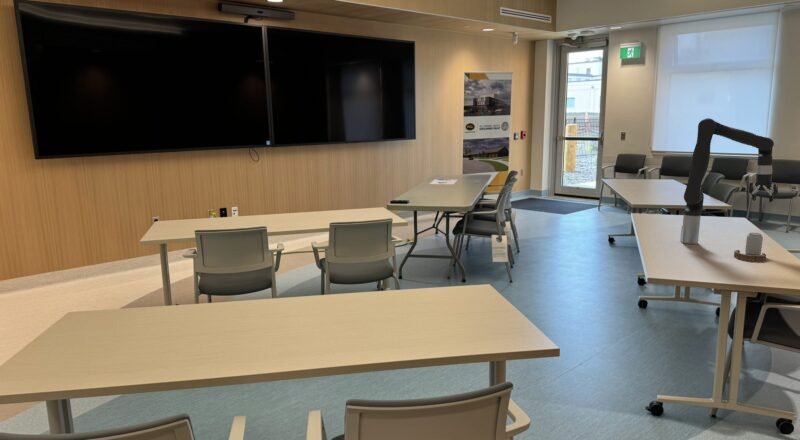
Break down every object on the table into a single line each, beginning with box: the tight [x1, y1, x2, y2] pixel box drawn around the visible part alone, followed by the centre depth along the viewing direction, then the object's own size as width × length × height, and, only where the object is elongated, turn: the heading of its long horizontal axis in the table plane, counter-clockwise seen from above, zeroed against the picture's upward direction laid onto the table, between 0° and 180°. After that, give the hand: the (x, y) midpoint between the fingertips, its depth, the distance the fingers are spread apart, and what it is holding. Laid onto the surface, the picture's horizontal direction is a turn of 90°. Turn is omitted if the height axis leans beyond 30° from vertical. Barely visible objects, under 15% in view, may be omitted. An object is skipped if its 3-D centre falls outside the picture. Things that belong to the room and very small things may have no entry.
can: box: [745, 232, 764, 256], centre depth 304 cm, size 8×8×12 cm
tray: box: [733, 249, 767, 262], centre depth 296 cm, size 15×13×3 cm
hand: (762, 201), depth 312 cm, fingers open, 8 cm apart
